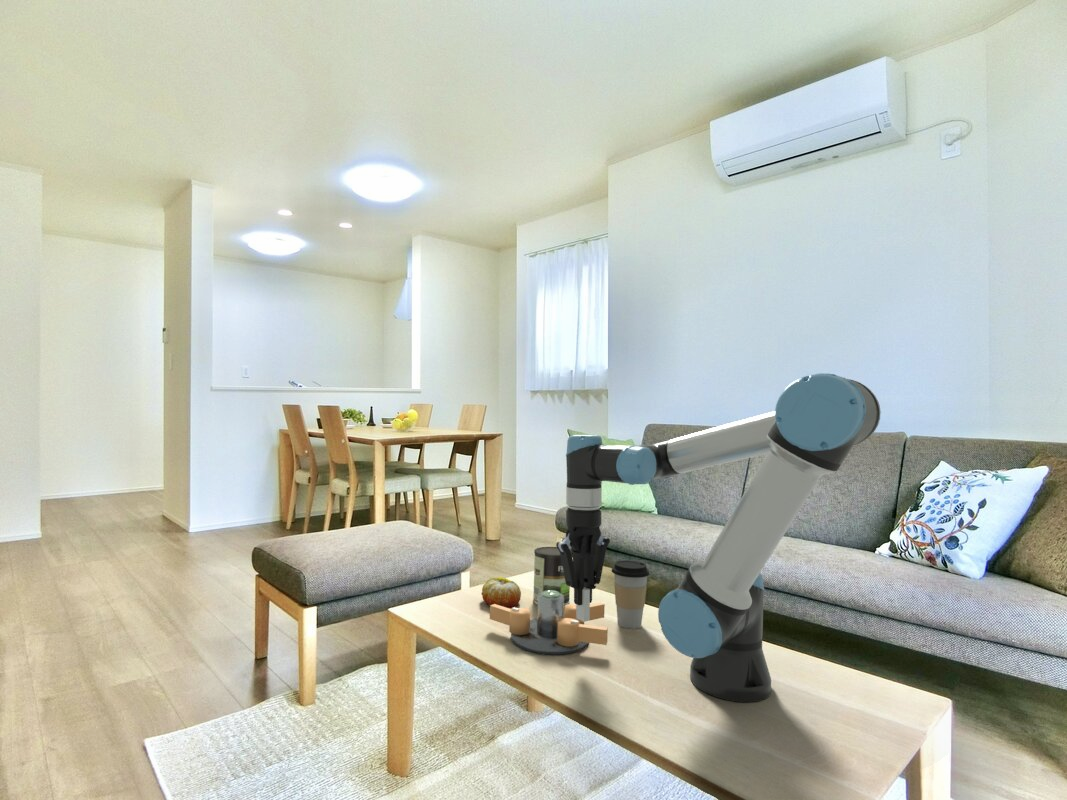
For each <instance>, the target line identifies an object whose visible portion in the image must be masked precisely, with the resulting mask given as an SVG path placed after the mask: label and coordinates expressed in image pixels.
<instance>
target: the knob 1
mask: <svg viewBox="0 0 1067 800" xmlns="http://www.w3.org/2000/svg"><path fill="white" fill-rule="evenodd" d="M531 613H532V611H531V610H530V609H528V608H526V607H525V608H523V607H513V608H506V607H503V606H500V605H496V604H493V605H490V606H489V620H491V621H493V622H498V623H500V624H504V625H507V626H508V627H509V628H508V629H509V630H508V631H509V633H510V634H511V633H512V634H516V635H524V634H528V633H529V632H530V620H531Z"/></svg>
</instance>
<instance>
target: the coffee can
mask: <svg viewBox="0 0 1067 800" xmlns="http://www.w3.org/2000/svg"><path fill="white" fill-rule="evenodd" d="M533 565H534V566H533V568H534V569H533V573H534V574H533V598H532V601H533V603H534V604H536V605H537V606H538V594H539V593H541V592H543V591H547V590H553V591H557V592H559V593H561V594H563V595H564V607H565V605H568V604H571V601H570V595H571V594H570V593H571V592H570V590H571V587H570V586H567V585H566V581H565V576H564V571H563V566H562V560H561V555H560V552H559V550H558V548H557V546H542V547H541V546H540V547H537V548H535V549H534V564H533Z"/></svg>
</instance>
